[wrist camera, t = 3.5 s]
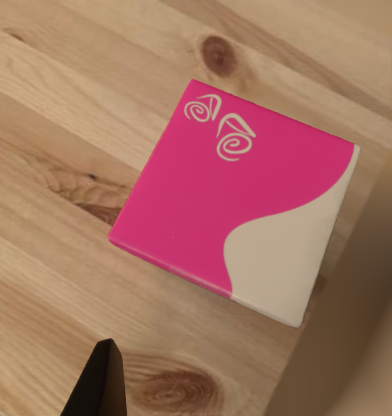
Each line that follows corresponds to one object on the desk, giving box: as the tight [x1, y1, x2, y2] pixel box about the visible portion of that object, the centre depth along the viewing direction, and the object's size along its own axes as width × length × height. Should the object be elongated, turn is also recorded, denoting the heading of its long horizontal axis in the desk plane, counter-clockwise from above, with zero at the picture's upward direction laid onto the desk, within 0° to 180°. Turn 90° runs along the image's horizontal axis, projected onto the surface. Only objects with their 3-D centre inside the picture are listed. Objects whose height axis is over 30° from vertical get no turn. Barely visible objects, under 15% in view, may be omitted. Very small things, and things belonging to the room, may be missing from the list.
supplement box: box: [108, 79, 361, 328], centre depth 14 cm, size 6×6×12 cm
